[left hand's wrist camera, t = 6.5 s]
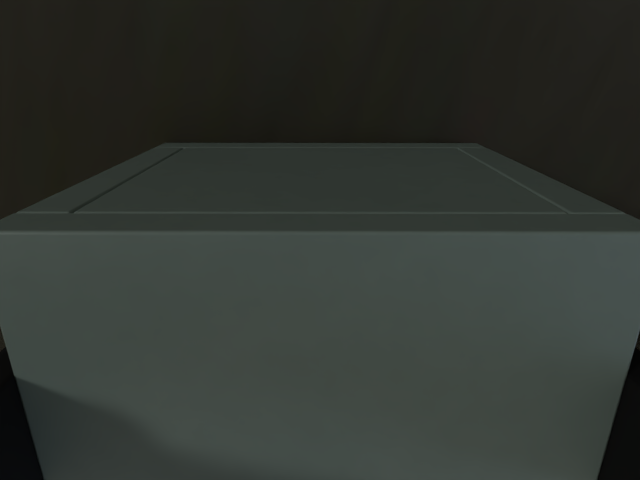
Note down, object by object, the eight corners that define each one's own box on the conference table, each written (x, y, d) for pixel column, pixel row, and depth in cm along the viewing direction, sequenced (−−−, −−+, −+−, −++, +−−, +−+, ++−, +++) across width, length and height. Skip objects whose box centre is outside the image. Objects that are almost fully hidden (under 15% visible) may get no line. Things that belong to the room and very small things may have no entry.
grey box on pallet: (435, 496, 23) (512, 783, 14) (205, 495, 23) (127, 782, 14) (477, 142, 17) (670, 232, 7) (163, 142, 17) (-29, 231, 7)
